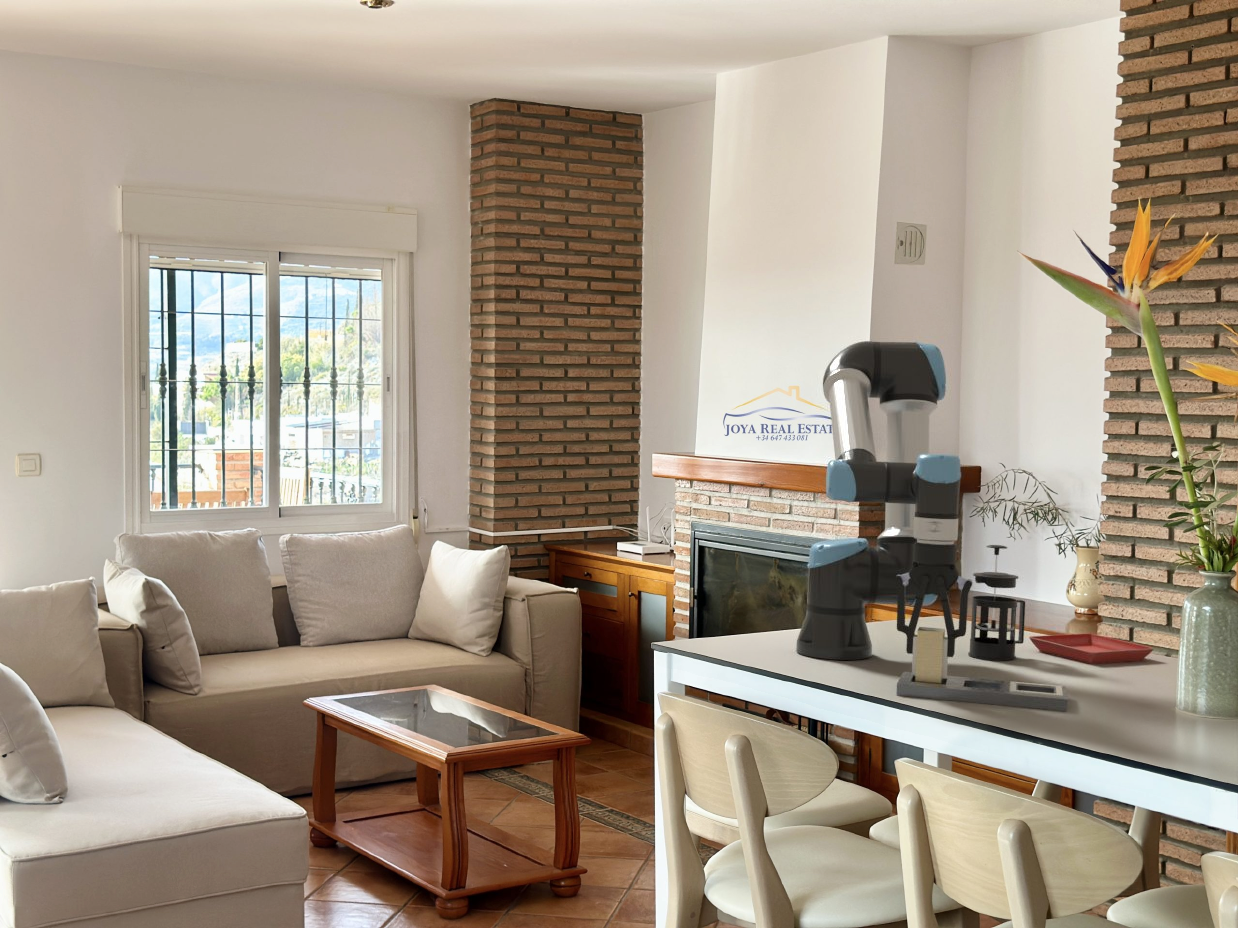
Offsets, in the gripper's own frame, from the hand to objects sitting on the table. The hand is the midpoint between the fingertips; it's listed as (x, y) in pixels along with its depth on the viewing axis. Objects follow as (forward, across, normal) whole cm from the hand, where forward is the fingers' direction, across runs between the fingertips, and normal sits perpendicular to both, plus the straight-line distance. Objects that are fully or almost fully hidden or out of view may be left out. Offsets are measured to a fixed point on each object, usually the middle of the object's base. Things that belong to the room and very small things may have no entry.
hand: (929, 673), depth 234 cm
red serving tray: (+4, +29, +55) cm, 62 cm away
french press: (+3, +10, +43) cm, 44 cm away
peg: (+3, 0, 0) cm, 3 cm away
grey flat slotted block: (+3, +9, 0) cm, 10 cm away
